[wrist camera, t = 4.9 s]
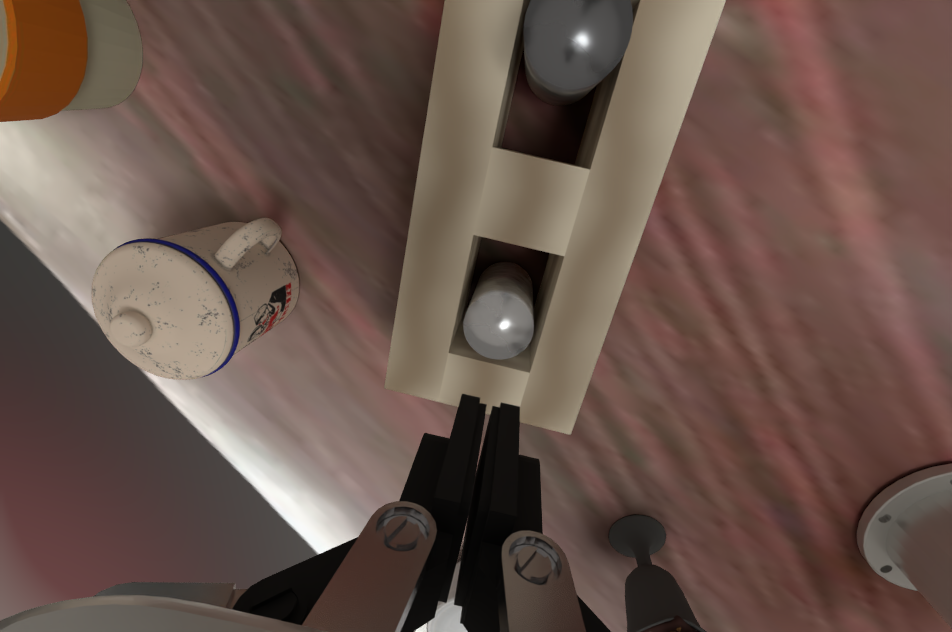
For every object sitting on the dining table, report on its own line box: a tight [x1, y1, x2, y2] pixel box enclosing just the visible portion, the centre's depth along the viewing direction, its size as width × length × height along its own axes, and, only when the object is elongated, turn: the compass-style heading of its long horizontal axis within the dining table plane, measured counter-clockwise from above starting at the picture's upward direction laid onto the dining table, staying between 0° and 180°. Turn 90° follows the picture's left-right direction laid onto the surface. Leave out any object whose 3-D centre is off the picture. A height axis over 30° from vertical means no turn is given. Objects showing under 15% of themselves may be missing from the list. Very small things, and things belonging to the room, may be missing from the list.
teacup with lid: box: [92, 218, 299, 380], centre depth 29 cm, size 12×9×12 cm
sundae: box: [609, 515, 706, 632], centre depth 33 cm, size 7×7×15 cm
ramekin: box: [427, 561, 468, 632], centre depth 42 cm, size 11×11×5 cm
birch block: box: [384, 0, 726, 435], centre depth 26 cm, size 12×26×8 cm, turn 168°
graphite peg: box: [523, 0, 633, 106], centre depth 20 cm, size 4×4×8 cm
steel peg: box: [463, 262, 534, 360], centre depth 28 cm, size 4×4×8 cm
